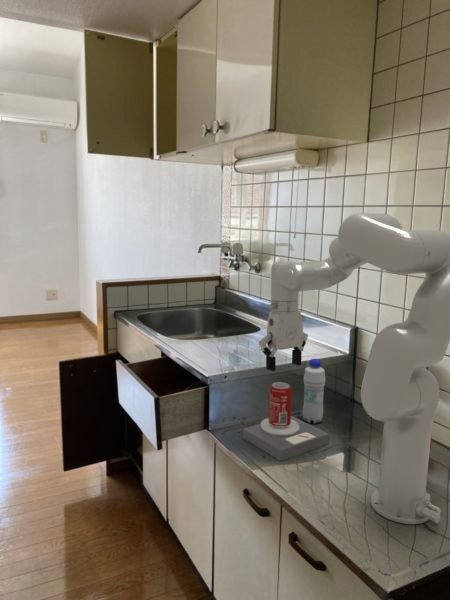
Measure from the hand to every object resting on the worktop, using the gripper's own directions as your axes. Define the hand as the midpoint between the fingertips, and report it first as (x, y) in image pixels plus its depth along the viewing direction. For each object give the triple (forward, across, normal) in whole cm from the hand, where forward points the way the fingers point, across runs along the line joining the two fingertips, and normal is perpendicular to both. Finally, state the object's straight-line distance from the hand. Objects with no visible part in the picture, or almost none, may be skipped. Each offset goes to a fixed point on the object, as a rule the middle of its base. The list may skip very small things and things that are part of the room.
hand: (283, 367), depth 133 cm
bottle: (+21, +17, +5) cm, 28 cm away
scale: (+21, 0, -1) cm, 21 cm away
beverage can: (+18, 0, +1) cm, 18 cm away
